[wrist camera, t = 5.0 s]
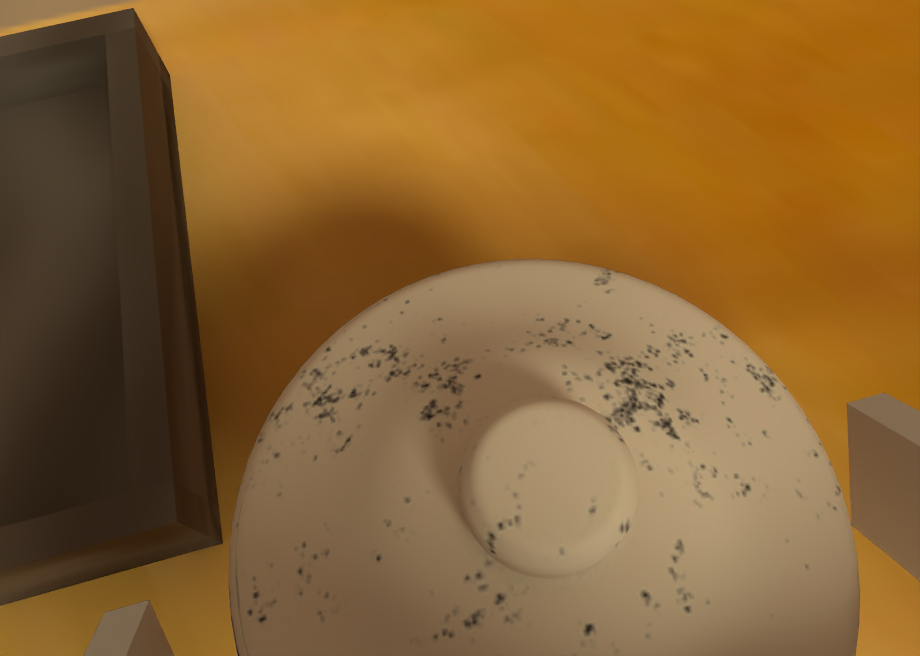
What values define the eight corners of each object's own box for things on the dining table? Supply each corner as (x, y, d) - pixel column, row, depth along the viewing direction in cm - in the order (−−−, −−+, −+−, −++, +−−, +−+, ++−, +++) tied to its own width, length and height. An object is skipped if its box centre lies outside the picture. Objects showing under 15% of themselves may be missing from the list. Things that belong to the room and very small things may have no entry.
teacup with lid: (340, 434, 20) (171, 175, 9) (655, 405, 20) (836, 112, 9) (343, 982, 15) (-37, 1776, 4) (773, 943, 15) (1486, 1639, 4)
